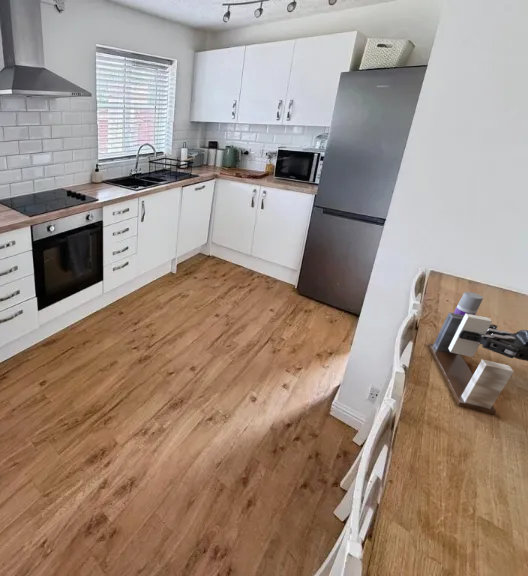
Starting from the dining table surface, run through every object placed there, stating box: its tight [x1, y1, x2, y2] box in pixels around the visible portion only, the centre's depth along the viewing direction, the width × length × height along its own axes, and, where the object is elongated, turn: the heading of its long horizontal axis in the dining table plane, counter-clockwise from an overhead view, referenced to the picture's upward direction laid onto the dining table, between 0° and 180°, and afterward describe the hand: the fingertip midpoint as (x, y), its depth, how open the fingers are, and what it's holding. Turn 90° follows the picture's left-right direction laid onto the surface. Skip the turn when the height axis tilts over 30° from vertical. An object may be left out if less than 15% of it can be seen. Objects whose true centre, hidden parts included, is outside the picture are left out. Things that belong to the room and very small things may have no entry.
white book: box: [448, 314, 493, 358], centre depth 96 cm, size 5×2×11 cm, turn 68°
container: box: [453, 291, 484, 315], centre depth 111 cm, size 5×5×15 cm
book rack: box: [427, 312, 515, 416], centre depth 95 cm, size 7×27×12 cm, turn 158°
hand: (458, 331), depth 96 cm, fingers closed on white book, 2 cm apart
